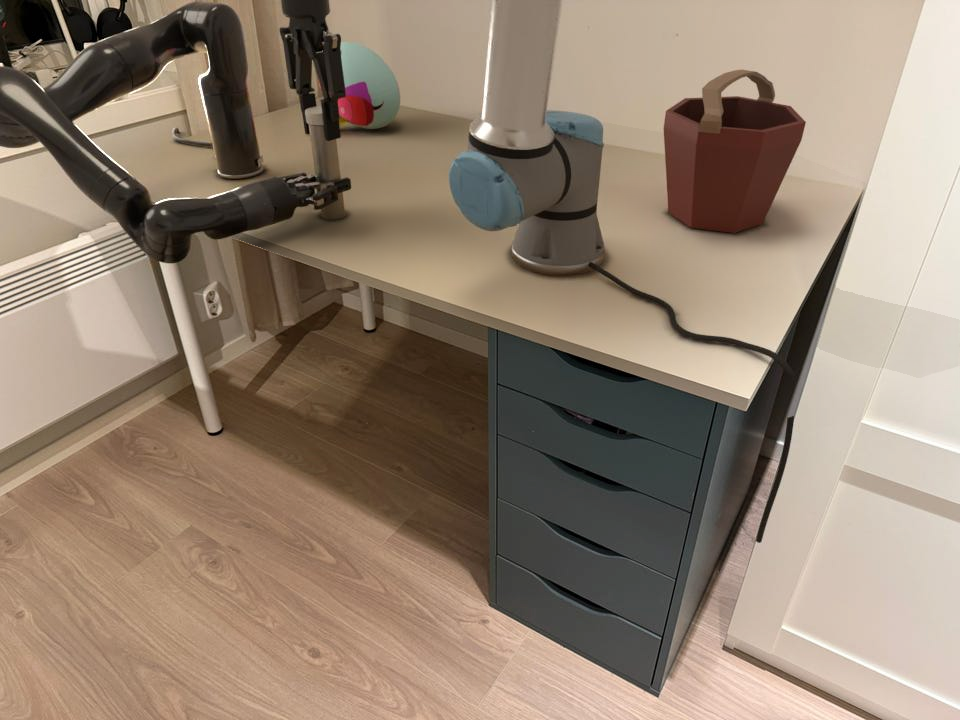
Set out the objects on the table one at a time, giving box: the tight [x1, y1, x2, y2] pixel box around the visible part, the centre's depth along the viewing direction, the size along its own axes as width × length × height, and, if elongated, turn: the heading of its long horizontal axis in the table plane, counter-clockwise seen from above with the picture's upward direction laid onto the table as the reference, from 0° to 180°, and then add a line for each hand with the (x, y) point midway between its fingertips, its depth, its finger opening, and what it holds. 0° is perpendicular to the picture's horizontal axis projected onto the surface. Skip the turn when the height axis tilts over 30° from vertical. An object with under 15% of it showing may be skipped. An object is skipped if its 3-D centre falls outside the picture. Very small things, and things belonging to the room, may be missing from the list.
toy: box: [318, 41, 401, 130], centre depth 176 cm, size 24×24×20 cm
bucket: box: [663, 69, 807, 234], centre depth 125 cm, size 24×22×25 cm
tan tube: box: [308, 124, 346, 221], centre depth 128 cm, size 4×4×19 cm
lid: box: [305, 105, 324, 125], centre depth 123 cm, size 5×5×2 cm
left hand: (341, 179), depth 131 cm, fingers closed on tan tube, 4 cm apart
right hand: (322, 135), depth 125 cm, fingers open, 5 cm apart
